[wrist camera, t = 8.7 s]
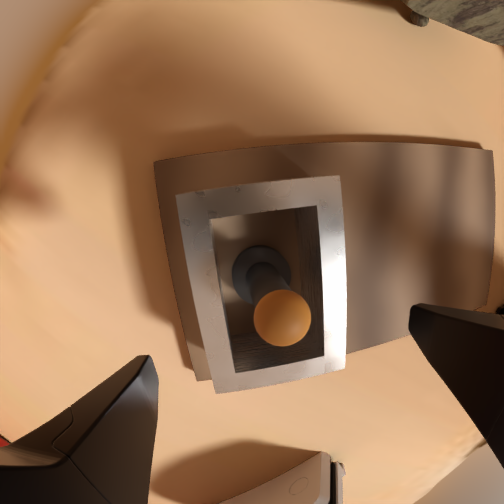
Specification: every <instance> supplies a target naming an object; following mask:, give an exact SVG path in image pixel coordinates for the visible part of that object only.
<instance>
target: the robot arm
mask: <svg viewBox="0 0 504 504" xmlns="http://www.w3.org/2000/svg"><path fill="white" fill-rule="evenodd" d="M408 329H409V332H410V334H411V335H412V337H413V338H414V340H415V341H416V343H417V345H418V346H419V348H420V349H421V351H422V353H423V354H424V356H425V357H426V359H427V360H428V362H429V363H430V364H431V366H432V367H433V368H434V370H435V371H436V372H437V373H438V375H439V376H440V377H441V379H442V380H443V381H444V383H445V384H446V385H447V387H448V388H449V389H450V391H451V392H452V393H453V395H454V396H455V397H456V399H457V400H458V401H459V403H460V404H461V405H462V407H463V408H464V410H465V411H466V412H467V414H468V415H469V417H470V418H471V419H472V421H473V422H474V424H475V425H476V427H477V428H478V430H479V431H480V433H481V434H482V435H483V437H484V438H485V440H486V442H487V443H488V445H489V446H490V448H491V449H492V451H493V452H494V454H495V455H496V457H497V459H498V460H499V462H500V463H501V465H502V467H503V468H504V305H503V306H501V307H499V308H498V310H497V313H496V314H492V313H485V312H478V311H471V310H464V309H457V308H451V307H444V306H438V305H431V304H425V303H418V304H415V305H413V306H411V308H410V314H409V323H408ZM158 386H159V380H158V375H157V372H156V369H155V366H154V363H153V360H152V358H151V356H150V355H139V356H137V357H135V358H134V359H133V360H131V361H130V362H129V363H127V364H126V365H125V366H123V367H122V368H121V369H119V370H118V371H117V372H115V373H114V374H113V375H111V376H110V377H109V378H107V379H106V380H105V381H103V382H102V383H101V384H99V385H98V386H97V387H95V388H94V389H93V390H91V391H90V392H88V393H87V394H86V395H84V396H83V397H82V398H80V399H79V400H78V401H76V402H75V403H74V404H72V405H71V407H68V408H67V409H65V410H64V411H63V412H61V413H60V414H58V415H57V416H55V417H54V418H53V419H51V420H50V421H48V422H46V423H45V424H43V425H42V426H40V427H38V428H37V429H35V430H33V431H32V432H30V433H28V434H26V435H25V436H23V437H21V438H20V439H18V440H16V441H14V442H13V443H11V444H9V445H6V446H3V447H0V504H148V494H149V484H150V474H151V466H152V458H153V450H154V442H155V435H156V428H157V420H158Z"/></svg>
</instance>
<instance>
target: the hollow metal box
mask: <svg viewBox="0 0 504 504" xmlns="http://www.w3.org/2000/svg"><path fill="white" fill-rule="evenodd" d="M176 202H177V208H178V215H179V221H180V227H181V234H182V239H183V245H184V251H185V257H186V262H187V267H188V273H189V278H190V283H191V288H192V293H193V298H194V303H195V308H196V312H197V317H198V322H199V326H200V331H201V335H202V340H203V344H204V348H205V352H206V357H207V361H208V365H209V369H210V373H211V377H212V381H213V385H214V388H215V392H216V394H220V393H227V392H234V391H241V390H247V389H253V388H259V387H265V386H270V385H276V384H281V383H286V382H291V381H295V380H300V379H304V378H309V377H313V376H317V375H321V374H325V373H329V372H333V371H337V370H340V369H344V368H345V354H346V257H345V235H344V219H343V206H342V194H341V183H340V175H336V176H314V177H302V178H291V179H281V180H272V181H263V182H255V183H247V184H239V185H232V186H224V187H217V188H210V189H204V190H197V191H191V192H185V193H181V194H178V195H176ZM290 208H294V213H295V223H296V233H297V244H298V255H299V268H300V280H301V294H302V298H303V299H304V300H305V301H306V302H307V304H308V306H309V308H310V312H311V323H310V327H309V329H308V331H307V333H306V334H305V336H304V337H303V338H302V339H301V340H299V341H298V342H297V343H295V344H292V345H289V346H275V345H272V344H270V343H268V342H266V341H265V340H263V339H262V338H261V337H260V335H259V334H258V332H257V331H255V332H249V333H243V334H236V335H230V330H229V324H228V318H227V313H226V307H225V301H224V295H223V289H222V283H221V277H220V271H219V265H218V258H217V252H216V246H215V239H214V232H213V226H212V219H216V218H223V217H230V216H237V215H244V214H251V213H258V212H266V211H274V210H282V209H290Z"/></svg>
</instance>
